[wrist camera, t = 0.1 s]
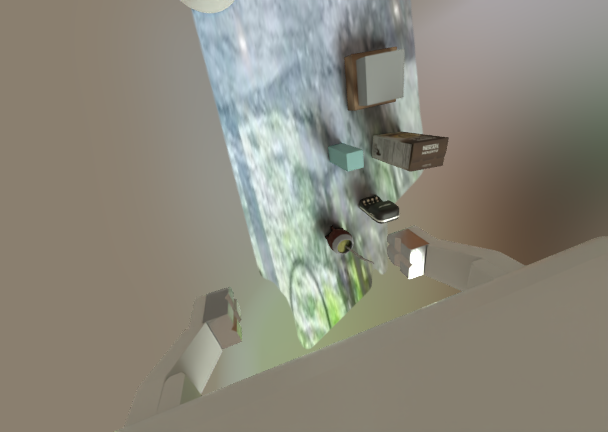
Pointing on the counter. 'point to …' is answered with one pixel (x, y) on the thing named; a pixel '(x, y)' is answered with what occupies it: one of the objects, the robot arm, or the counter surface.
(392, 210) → the battery charger
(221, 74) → the counter surface
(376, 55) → the tower top
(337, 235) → the mate gourd
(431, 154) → the coffee box
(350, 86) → the tower base
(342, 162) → the teal block
